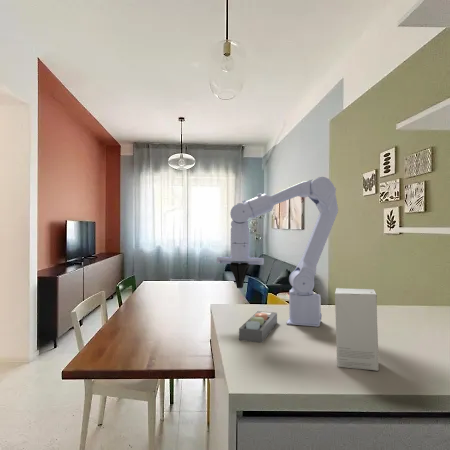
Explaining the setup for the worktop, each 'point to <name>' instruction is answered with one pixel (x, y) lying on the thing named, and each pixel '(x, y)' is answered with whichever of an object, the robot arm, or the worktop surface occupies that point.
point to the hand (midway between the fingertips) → (240, 287)
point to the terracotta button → (262, 315)
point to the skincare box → (356, 328)
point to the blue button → (253, 325)
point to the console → (262, 332)
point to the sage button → (258, 320)
